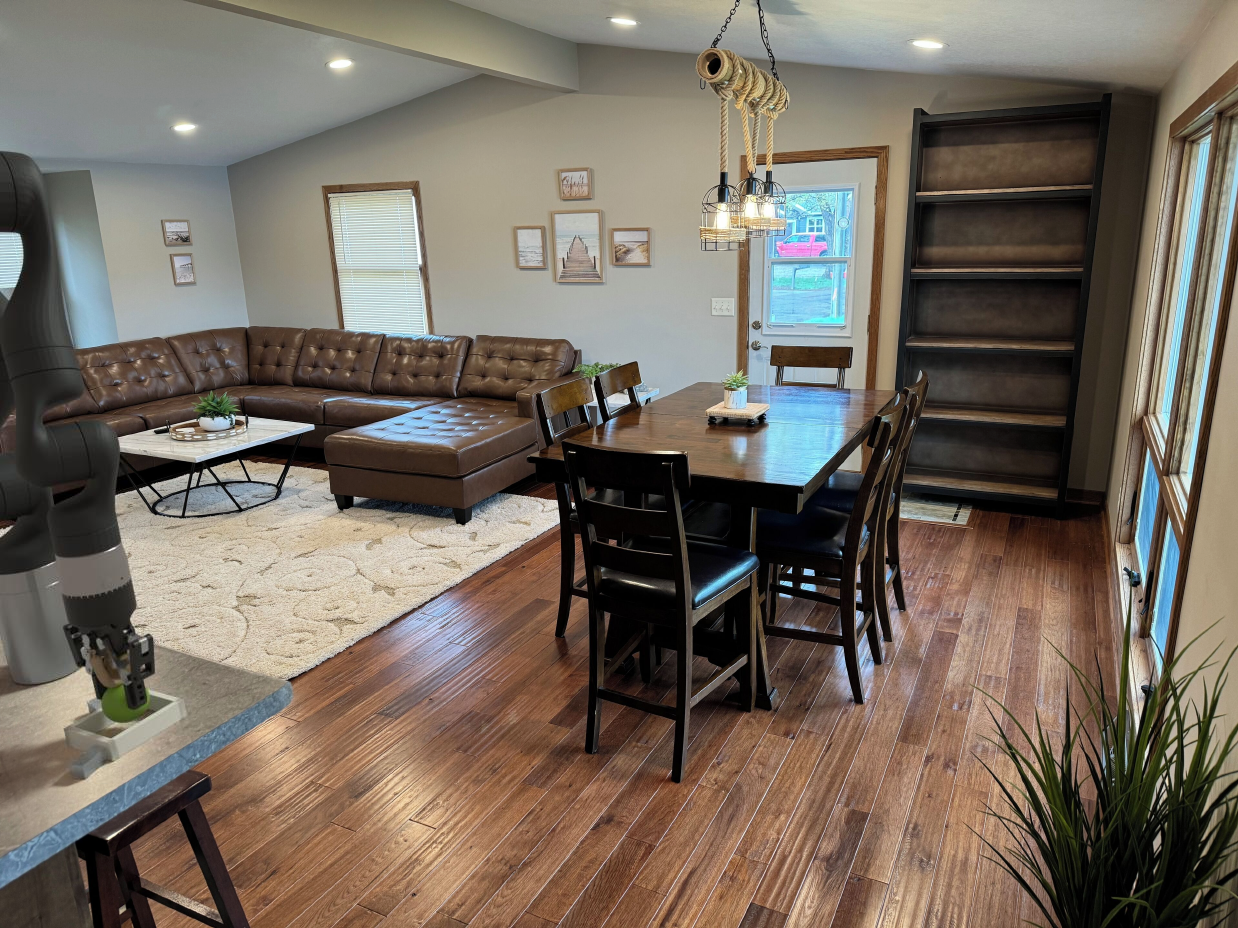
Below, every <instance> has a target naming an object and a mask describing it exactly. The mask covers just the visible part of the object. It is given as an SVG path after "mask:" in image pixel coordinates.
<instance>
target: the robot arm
mask: <svg viewBox="0 0 1238 928" xmlns="http://www.w3.org/2000/svg"><path fill="white" fill-rule="evenodd" d="M54 228H55V227H54V220H53V213H52V208H51V202H50V196H49V192H48V188H47V185H46V180H45V178H44V176H43V173H42V171H41V169H40V166H39V165H38V164H37V162H36V161H35V160H34V159H33V158H32V157H30V156H29V155H27V154H26V153H25V154H24V153H23V152H17V151H16V152H15V151H8V150H7V151H5V150H0V233H1V234H3V233H4V234H6V233H7V234H11V233H12V234H18V235H19V236H20V239H21V240H20V241H21V245H22V256H23V257H22V258H23V259H22V264H21V270H20V273H19V276H18V279H17V282H16V285H14V286H15V287H14V289H13V292H12V293H11V296H10V297H9V299H8V298H7V297H6V296H5V295H4V293H3V292H2V291H1V290H0V430H1V429H2V428H3V426H4V424H5V423H6V422H7V421H8V419H9V418H10V417H11V415H12V414H13V413H14V411H15V434H14V444H13V450H12V451H11V450H10V451H6V452H0V523H2V522H5V521H9V520H12V519H16V521H15V522H14V524H13V525H12V527H11V528H10V529H9V530H7V532H5V533H4V534H3V535H2V536H0V641H1V644H2V648H3V652H4V655H5V659H6V664H7V668H8V672H9V673H10V675H11V678H12V681H13V682H14V683H16V684H20V685H36V684H37V685H38V684H43V683H49V682H52V681H55V680H59V679H61V678H64V677H67V676H69V675H70V674H72V673H74V672H76V671H77V670H78V669H81V668H85V671H86V673H87V675H90V676H91V680H92V683H93V689H94V693H95V698H97V699H99V700H102V697H103V695H104V693H105V692H106V690H107V689H108V688H109V687H106V686H104V685H103V684H102V683H101V682H100V681H99V679H98V678H97V676H96V674H95V671H94V668H93V667H92V666H91V664H90V657H91V658H92V657H93V656H95V655H99V656H101V657H102V659H103V662H104V659H105V657H106V658H107V660H108V662H109V664H110V666H111V668H112V669H113V670H117V671H118V673H119V675H120V677H121V679H122V681H123V683H124V684H123V686H124V691H125V696H126V700H127V705H128V708H129V709H132V710H136V709H138V708H139V707H141V706H143V705H145V704H146V703H147V694H146V689H145V687H146V684H145V680H146V679H148V678H149V677H151V676H153V675H155V674H156V669H155V668H156V666H155V665H156V664H155V645H154V644H155V643H154V637H153V635H152V634H151V633H146V634H144V635H140V634H138V633H136V629H135V627H134V625H133V622H132V621H131V617H132V616H133V614H134V612H135V611H136V609H137V607H138V603H137V598H136V594H135V590H134V584H133V580H132V574H131V569H130V563H129V559H128V555H127V553H126V549H125V548H124V544H123V541H122V537H121V533H120V531H121V530H120V526H119V521H118V517H117V509H116V491H117V489H116V488H117V479H118V478H117V477H118V473H119V467H120V466H119V465H120V457H121V456H120V454H121V445H120V440H119V437H118V435H117V433H116V431H115V430H114V429H113V427H112V426H111V425H109V423H107V422H106V421H103V420H102V419H99V418H87V419H81V420H74V421H69V422H63V423H56V424H49V425H44V423H43V422H44V421H43V419H44V415H45V414H46V413H47V412H48V411H50V410H53V409H55V408H57V407H59V406H63V405H66V404H69V403H72V402H74V401H77V400H78V399H80V398H82V396H83V395H84V394H85V383H84V382H85V381H84V378H83V375H82V372H81V368H80V365H79V362H78V361H79V360H78V358H77V354H76V351H75V347H74V344H73V340H72V337H71V334H70V329H69V324H68V321H67V315H66V311H65V304H64V295H63V288H62V278H61V271H60V270H61V269H60V264H59V263H60V262H59V255H58V248H57V247H58V246H57V240H56V236H55V235H56V234H55V229H54ZM86 480H87V483H86V485H85V487H84V488H83V490H82V491H80V492H79V493H77V494H75V495H73V496H71V497H69V498H66V499H64V500H61V501H60V502H58V503H56V504H55V502H54V497H53V496H54V495H53V490H52V487H55V486H56V487H57V486H61V485H65V484H70V483H75V482H81V481H86ZM88 649H91V650H93V649H94V650H96V653H95V654H94V655H93V654H92V653H90V657H89V654H88V653H87V652H86V651H87V650H88ZM127 653H129V654H130V656H129V657H127V658H125V659H123V660H121V661H120V660H118V658H119V657H121V656H123V655H125V654H127ZM128 664H130V670H131V673H130V674H129V672H128V670H127V668H126V666H127V665H128Z"/></svg>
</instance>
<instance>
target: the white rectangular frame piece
mask: <svg viewBox="0 0 1238 928" xmlns="http://www.w3.org/2000/svg"><path fill="white" fill-rule="evenodd" d="M148 691H149V695H150V702H149V705H148V708H147V709H146V710H150V711H153V713H152V714H150V715H149V716H147V717H146V718H143V719H141V720H140V721H138V722H137V723H135V724H133V725H131V726H130V727H129V728H127V729H125V730H123V731H122V732H120V733H118V734H116V735H115V736H113V737H112V738H109V737H107V736H104V735H101V734H98V733H99V732H100V731H103V730H104V729H106V728H107V727H109V726H111V725H113V724H115V723H116V722H114V721H112V720H110V719H108V718H107V717H106V716H105V714H104V713H103V711H102V707H101V702H102V700H99V699H97V698H96V697H95V698H93V699H90V700H87V702H86V703H87V707H88V713H89V714H87V715H86V716H84V717H82V718H80V719H78V720H76V721H75V722H73V723H71V724H69V725H67V726H66V727H64V728H63V733H64V736H65V737H64V738H65V740H66V744H67V747H70V748H74V749H76V750H79V751H82V752H83V753H82V754H80V756H78V757H77V758H76V759H74V760H73V761H72V762H71V763H70V764H69V765H68V766H69V769H70V774H71V778H72V779H80V780H81V779H82V780H86V779H87V778H89V777H90V776H91V775H92V774H93V773H95V771H97V770H98V769H99V768H101V767H102V766H103V765H104V764H105V763H106V762H108V761H112V762H115V761H116V760H118V759H119V758H121V757H122V756H125V755H126V754H128V753H129V752H131V751H132V750H134V749H135V748H138V746H141V745H142V744H144V743H145V742H147V741H149V740H150V739H152V738H153V737H155V736H157V735H158V734H161V733H162V732H163V731H165V730H166V729H168V728H170V727H172V726H173V725H175V724H176V723H178V722H179V721H181V720H183V719H185V718H186V717H187V716H188V715H187V709H186V705H185V700H184V699H183V698H180V697H177V696H176V697H175V696H173V695H170V694H167V693H166V694H165V693H162V692H159V691H156V690H152V689H148Z"/></svg>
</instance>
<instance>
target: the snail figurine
mask: <svg viewBox="0 0 1238 928" xmlns="http://www.w3.org/2000/svg"><path fill="white" fill-rule="evenodd" d="M86 652H87V653H88V654H89V657H90V653H92V654H93V655H94V654H95V653H96V650H94V649H93V650H91V649H88V650H87V651H86ZM129 656H130V654H129V653H127V654H125V655H123V656H121V657H119V658H118V660H120V661H121V660H123V659H125V658H127V657H129ZM90 664H91V666H92V667H93V668H94V671H95V674H96V676H97V678H98V679H99V681H100V682H101V683H102V684H103V685H104V686H106V687H109V688H108V689H107V690H106V692H105V693H104V695H103V697H102V702H101V707H102V711H103V713H104V714H105V716H106V717H107V718H108V719H110V720H112V721H114V722H115V723H119V724H127V723H131V722H133V721H136V720H138V719H140V718H141V716H143V715H144V714H145V712H146V711H147V710H148V709H147V708H148V705H149V702H150V695H149V691H148V690H149V688H147V686H145V689H146V694H147V703H146V704H145V705H143V706H141V707H139V708H138V709H136V710H132V709H129V708H128V705H127V700H126V696H125V691H124V686H123V684H124V683H123V681H122V679H121V677H120V675H119V673H118V671H117V670H113V669H112V668H111V666H110V664H109V662H108V660H107V658H106V657H105V659H104V662H103V659H102V657H101V656H99V655H95V656H93V657H92V658H91V657H90ZM126 668H127V670H128V672H129V674H130V673H131V670H130V664H128V665H127V666H126Z"/></svg>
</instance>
